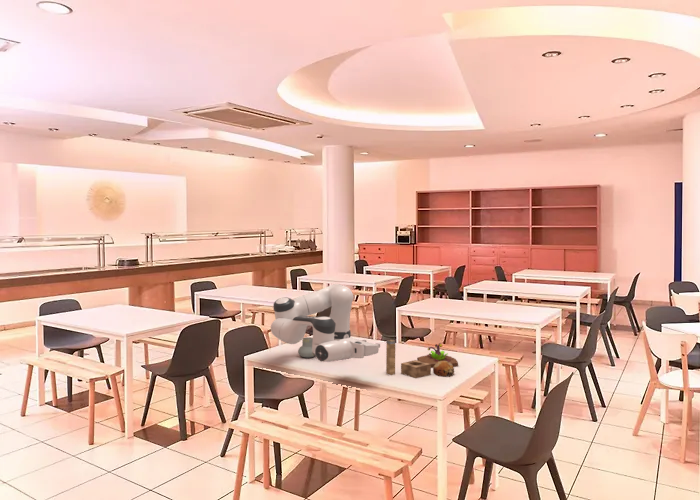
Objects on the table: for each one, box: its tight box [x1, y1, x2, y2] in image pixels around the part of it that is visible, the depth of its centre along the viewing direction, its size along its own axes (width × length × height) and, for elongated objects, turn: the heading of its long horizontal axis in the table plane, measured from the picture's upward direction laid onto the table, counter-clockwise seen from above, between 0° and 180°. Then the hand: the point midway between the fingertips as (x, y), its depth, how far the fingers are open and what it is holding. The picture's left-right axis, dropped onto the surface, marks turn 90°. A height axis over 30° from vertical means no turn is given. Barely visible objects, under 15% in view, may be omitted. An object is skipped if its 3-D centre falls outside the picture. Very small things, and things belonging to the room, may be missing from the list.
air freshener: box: [297, 337, 316, 359], centre depth 280 cm, size 11×8×10 cm
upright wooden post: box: [385, 339, 396, 376], centre depth 248 cm, size 3×3×16 cm
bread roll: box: [432, 361, 455, 377], centre depth 249 cm, size 10×10×8 cm
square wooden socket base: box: [400, 359, 432, 379], centre depth 248 cm, size 10×10×5 cm
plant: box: [416, 342, 459, 369], centre depth 268 cm, size 20×20×11 cm
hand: (372, 343), depth 239 cm, fingers open, 8 cm apart
